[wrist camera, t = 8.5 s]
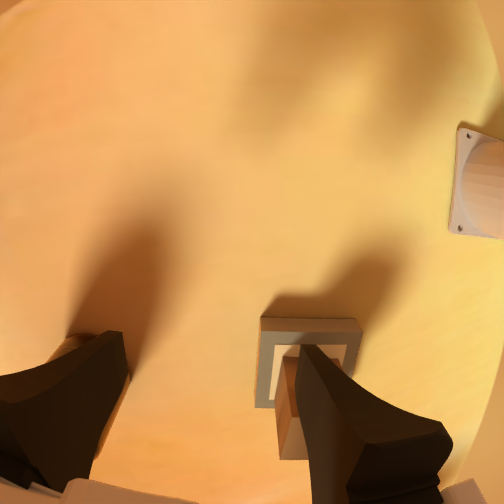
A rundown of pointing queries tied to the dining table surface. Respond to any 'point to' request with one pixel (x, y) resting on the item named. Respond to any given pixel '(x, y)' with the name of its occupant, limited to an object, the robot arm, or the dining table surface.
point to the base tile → (288, 344)
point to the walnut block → (290, 412)
